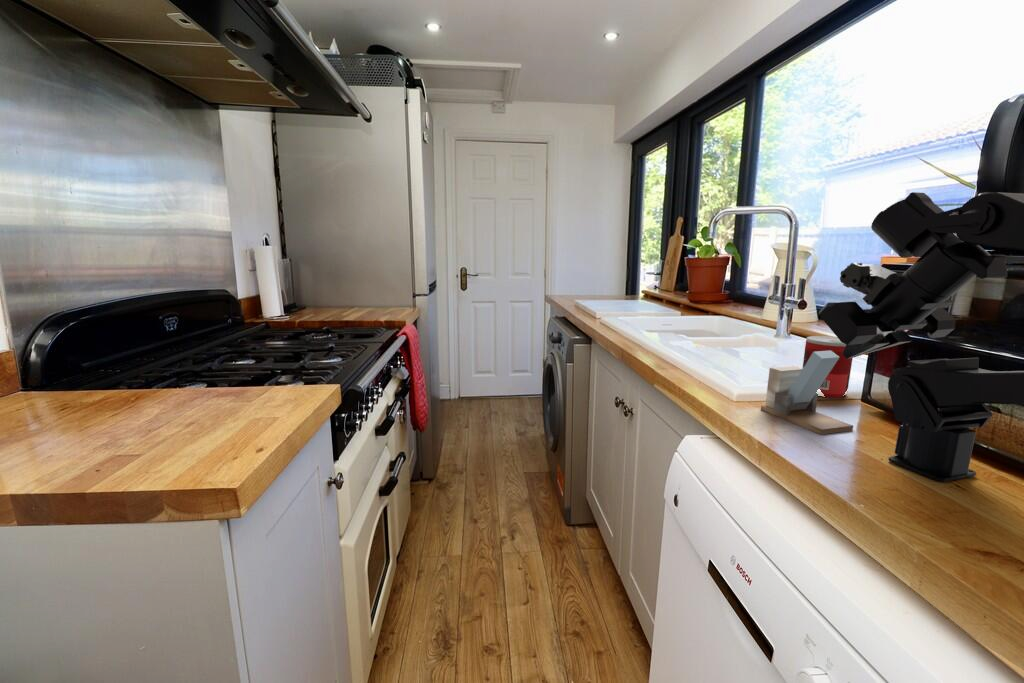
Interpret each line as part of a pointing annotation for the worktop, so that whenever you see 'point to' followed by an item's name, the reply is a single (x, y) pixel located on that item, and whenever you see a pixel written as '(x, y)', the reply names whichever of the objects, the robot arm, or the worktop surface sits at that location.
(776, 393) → the wooden base block holder
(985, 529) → the worktop surface
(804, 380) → the leg
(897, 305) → the robot arm
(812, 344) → the canned food
